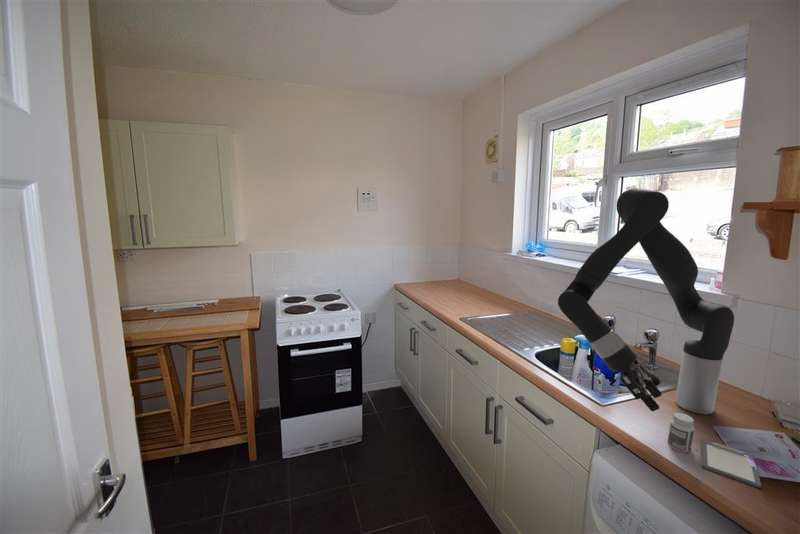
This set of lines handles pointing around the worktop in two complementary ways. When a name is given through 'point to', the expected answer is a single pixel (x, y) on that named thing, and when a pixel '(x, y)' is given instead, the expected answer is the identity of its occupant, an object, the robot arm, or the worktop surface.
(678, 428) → the pill bottle
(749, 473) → the tray
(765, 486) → the worktop surface
